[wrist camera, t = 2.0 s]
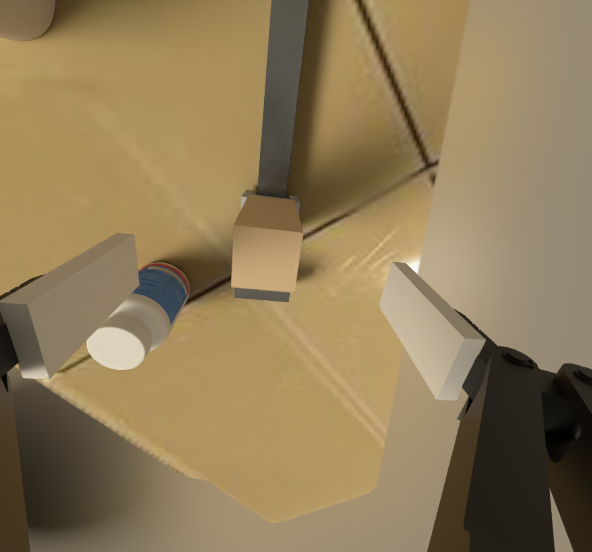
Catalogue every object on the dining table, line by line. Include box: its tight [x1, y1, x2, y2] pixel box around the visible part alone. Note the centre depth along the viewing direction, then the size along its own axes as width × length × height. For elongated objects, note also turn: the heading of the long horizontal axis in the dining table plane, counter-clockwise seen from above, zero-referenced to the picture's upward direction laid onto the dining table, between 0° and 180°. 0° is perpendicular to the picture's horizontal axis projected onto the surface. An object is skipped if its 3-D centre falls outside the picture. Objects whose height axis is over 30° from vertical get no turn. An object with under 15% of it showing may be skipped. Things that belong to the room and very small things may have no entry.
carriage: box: [231, 190, 303, 293], centre depth 21 cm, size 4×5×12 cm
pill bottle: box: [87, 262, 190, 370], centre depth 25 cm, size 6×5×10 cm
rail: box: [234, 0, 309, 302], centre depth 23 cm, size 27×5×4 cm, turn 172°
